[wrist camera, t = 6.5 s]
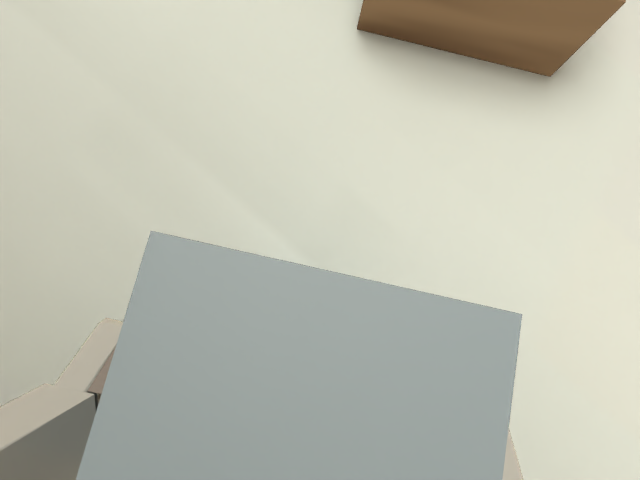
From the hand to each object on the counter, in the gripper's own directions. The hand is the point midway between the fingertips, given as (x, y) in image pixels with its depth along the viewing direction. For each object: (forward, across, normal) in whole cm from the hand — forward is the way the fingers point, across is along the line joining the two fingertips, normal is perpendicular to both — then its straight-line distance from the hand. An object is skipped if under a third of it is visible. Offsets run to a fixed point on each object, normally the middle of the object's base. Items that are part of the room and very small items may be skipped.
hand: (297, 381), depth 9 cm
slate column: (+3, 0, +4) cm, 5 cm away
